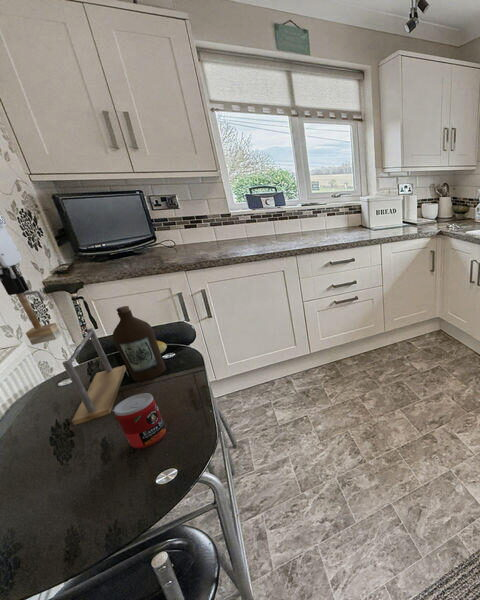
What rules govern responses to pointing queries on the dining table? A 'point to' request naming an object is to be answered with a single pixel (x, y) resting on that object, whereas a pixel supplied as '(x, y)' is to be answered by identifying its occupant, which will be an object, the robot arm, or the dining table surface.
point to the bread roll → (161, 346)
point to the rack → (95, 384)
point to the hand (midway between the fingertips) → (19, 292)
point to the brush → (38, 332)
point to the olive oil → (138, 346)
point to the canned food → (140, 420)
